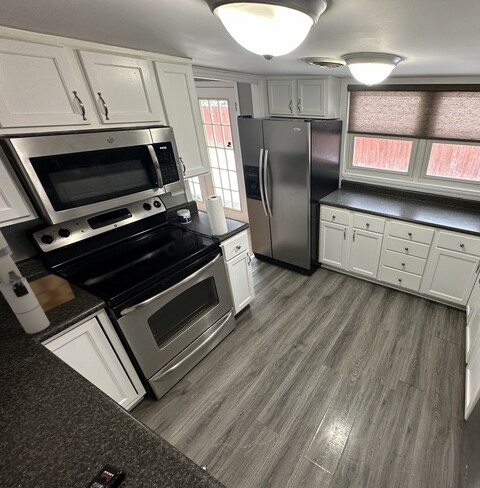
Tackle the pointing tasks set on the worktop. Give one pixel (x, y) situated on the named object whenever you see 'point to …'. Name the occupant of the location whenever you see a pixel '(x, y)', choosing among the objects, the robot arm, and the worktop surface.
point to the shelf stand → (51, 291)
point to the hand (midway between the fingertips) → (18, 292)
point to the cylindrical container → (26, 308)
